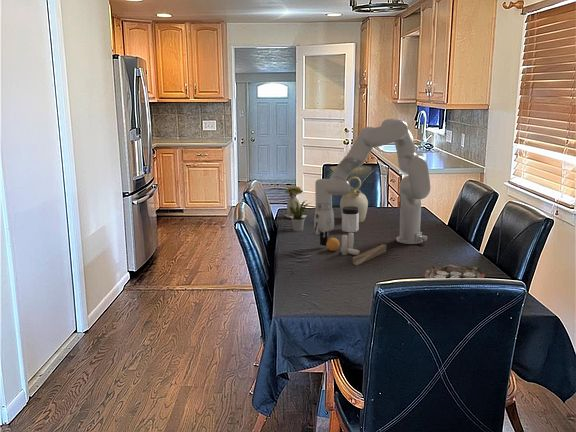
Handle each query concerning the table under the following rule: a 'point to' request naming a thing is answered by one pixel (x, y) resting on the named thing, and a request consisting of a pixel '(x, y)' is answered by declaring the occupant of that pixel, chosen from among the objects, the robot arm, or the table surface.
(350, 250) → the front pin
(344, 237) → the back pin left
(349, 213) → the jar
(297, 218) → the house plant
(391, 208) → the table surface
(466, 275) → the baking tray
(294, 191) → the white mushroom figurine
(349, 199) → the jug
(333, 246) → the ball
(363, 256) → the curved brown wooden stick
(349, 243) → the back pin right
